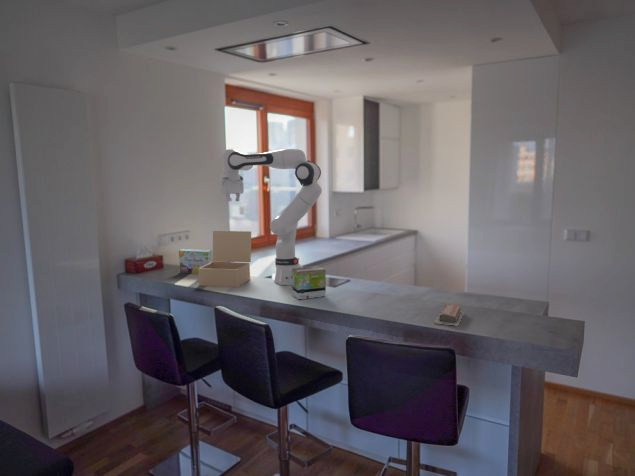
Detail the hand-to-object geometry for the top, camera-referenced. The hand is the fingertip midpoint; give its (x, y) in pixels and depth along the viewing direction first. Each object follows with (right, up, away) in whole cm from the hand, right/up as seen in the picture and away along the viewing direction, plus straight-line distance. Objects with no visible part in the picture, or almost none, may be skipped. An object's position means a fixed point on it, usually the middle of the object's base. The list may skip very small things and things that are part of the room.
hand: (233, 201), depth 273 cm
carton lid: (-3, -27, +8) cm, 28 cm away
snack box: (-28, -44, +26) cm, 59 cm away
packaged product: (+106, -57, -71) cm, 140 cm away
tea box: (+45, -52, -32) cm, 75 cm away
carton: (-5, -47, 0) cm, 48 cm away
